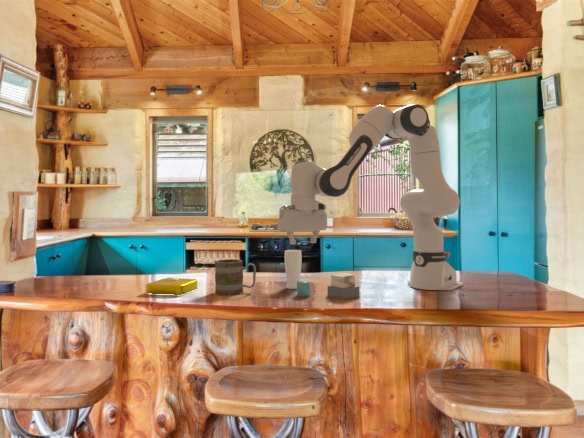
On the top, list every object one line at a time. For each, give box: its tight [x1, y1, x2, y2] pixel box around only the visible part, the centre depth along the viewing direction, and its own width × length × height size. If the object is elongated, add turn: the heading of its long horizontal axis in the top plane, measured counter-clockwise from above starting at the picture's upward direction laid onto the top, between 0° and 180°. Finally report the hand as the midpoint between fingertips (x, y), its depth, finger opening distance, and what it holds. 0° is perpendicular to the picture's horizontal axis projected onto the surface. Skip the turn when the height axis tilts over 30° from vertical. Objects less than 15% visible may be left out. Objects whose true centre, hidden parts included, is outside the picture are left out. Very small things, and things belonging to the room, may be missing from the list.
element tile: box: [145, 277, 198, 295], centre depth 157 cm, size 15×15×5 cm
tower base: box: [327, 284, 360, 301], centre depth 146 cm, size 8×8×4 cm
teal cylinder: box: [296, 280, 312, 298], centre depth 148 cm, size 5×5×5 cm
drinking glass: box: [284, 249, 303, 290], centre depth 161 cm, size 7×7×15 cm
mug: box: [214, 258, 257, 297], centre depth 154 cm, size 16×11×12 cm
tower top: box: [330, 272, 356, 288], centre depth 146 cm, size 6×6×4 cm
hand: (303, 243), depth 147 cm, fingers open, 8 cm apart
